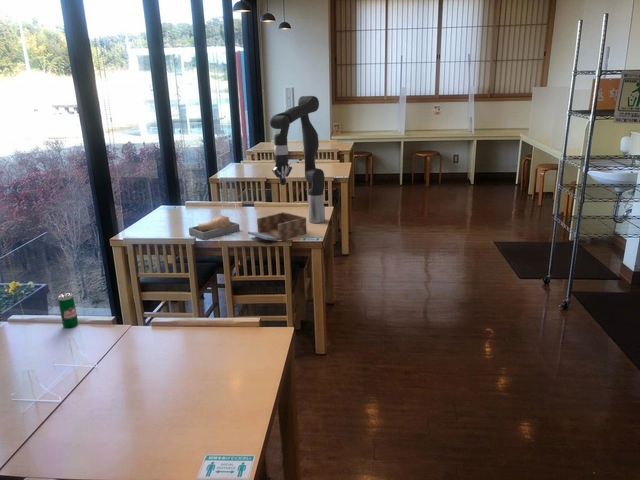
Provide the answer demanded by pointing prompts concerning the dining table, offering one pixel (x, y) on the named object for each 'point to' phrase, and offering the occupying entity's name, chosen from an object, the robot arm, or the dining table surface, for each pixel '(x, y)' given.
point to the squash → (215, 224)
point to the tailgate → (262, 236)
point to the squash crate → (213, 231)
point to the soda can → (68, 310)
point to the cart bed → (282, 225)
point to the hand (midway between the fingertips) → (283, 184)
